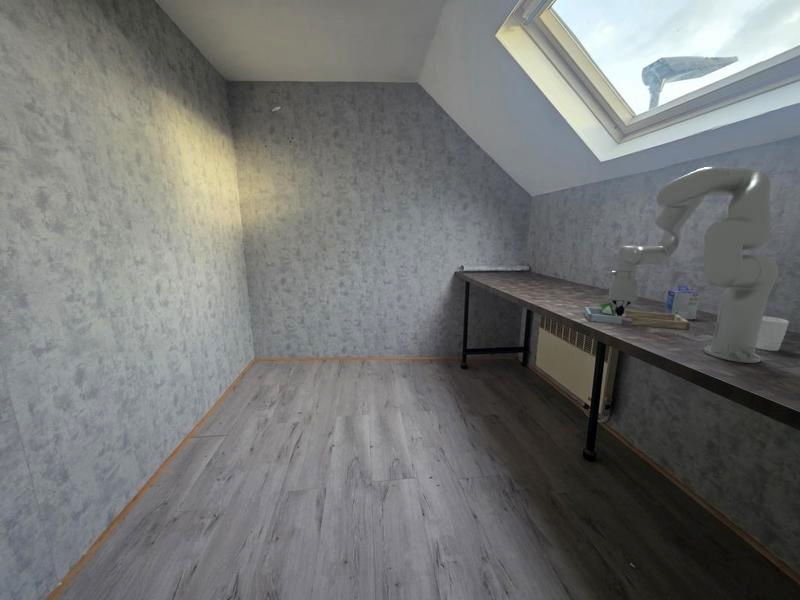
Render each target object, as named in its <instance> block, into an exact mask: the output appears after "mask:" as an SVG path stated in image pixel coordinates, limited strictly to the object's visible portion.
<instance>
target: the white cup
mask: <svg viewBox="0 0 800 600" xmlns="http://www.w3.org/2000/svg"><path fill="white" fill-rule="evenodd" d="M789 323H790V321H789V320H787V319H784V318H779V317H774V316H766V315H763V319H762V323H761V327H760V331H759V335H758V340H757V344H756V348H755V349H759V350H763V351H768V352H769V351H770V352H778V351H779V350H780V347H781V344H782V343H783V340H784V338H785V335H786V333H787V329H788V326H789Z"/></svg>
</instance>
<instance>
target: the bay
mask: <svg viewBox="0 0 800 600" xmlns="http://www.w3.org/2000/svg"><path fill="white" fill-rule="evenodd" d="M601 310H602V307H593V306H584V312H583V314H584V315H585V318H586V317H587V318H586V319H588V320H587V321H588V322H594V321H596V322H597V323H609V324H615V325H616V324H617V325H622V323H623V315H622V316H617V315H616V316H610V315H604V313H600V314H599V312H600V311H601ZM602 311H603V310H602ZM615 311H616V310H614V313H615ZM615 314H616V313H615Z"/></svg>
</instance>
